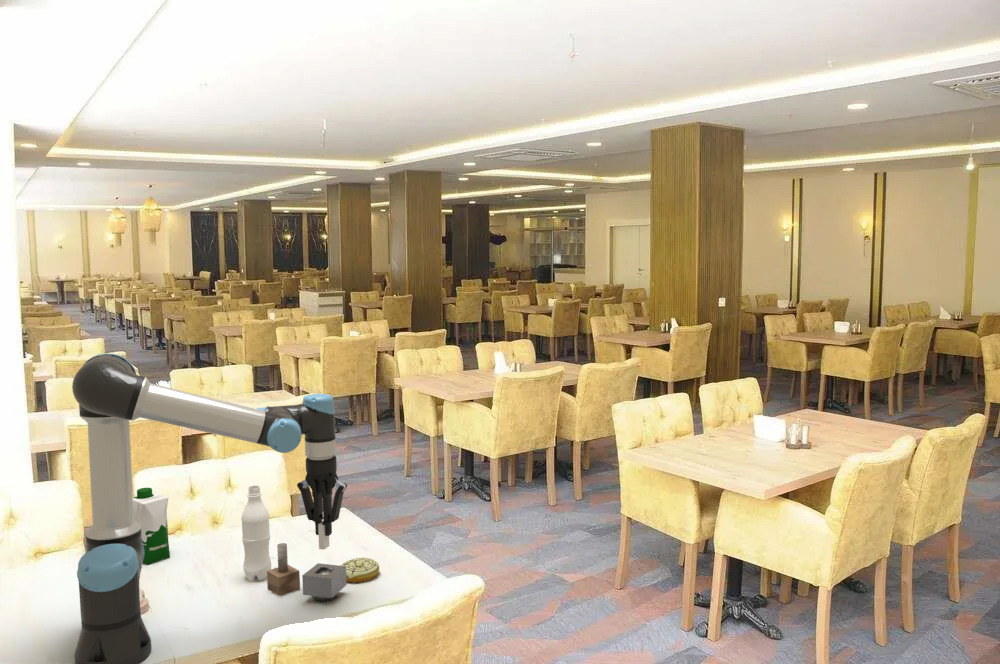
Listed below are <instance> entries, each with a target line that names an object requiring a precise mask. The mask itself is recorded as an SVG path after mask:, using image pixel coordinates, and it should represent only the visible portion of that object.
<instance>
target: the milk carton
mask: <svg viewBox="0 0 1000 664" xmlns="http://www.w3.org/2000/svg"><path fill="white" fill-rule="evenodd" d="M168 502H169V497H168V496H165V495H163V494H161V493H157V492H153V488H151V487H142V488H141V487H140V488H139V489H137V490H136V496H133V515H134V520H135V521H136V522H138V523H139V524H140V525H141V535H142V543H143V546H144V560H143V564H144V565H146V566H149V565H152V564H155V563H157V562H160V561H163V560H166V559H169V558H171V555H170V544H169V528H168V526H169V525H168V512H167V510H168V504H169V503H168Z"/></svg>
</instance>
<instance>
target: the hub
mask: <svg viewBox="0 0 1000 664" xmlns="http://www.w3.org/2000/svg"><path fill="white" fill-rule="evenodd" d="M329 573H330V571H321V572H319V574H326V575H328V574H329ZM338 595H339V594H338V593H337V594H336V595H335V596H334V597H333V598H327V597H319V596H312V597H313V601H315V602H317V603H322V604H323V603H330V602H332V601H334V600H337V598H338Z"/></svg>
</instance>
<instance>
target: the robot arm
mask: <svg viewBox="0 0 1000 664" xmlns="http://www.w3.org/2000/svg"><path fill="white" fill-rule="evenodd" d="M135 369H136V368H135V367H134V366H133V364H132V363H131V362H130V361H129V359H127V358H126V357H123V356H122V355H120V354H116V353H102V354H97V355H94V356H92V357H90V358H89V359H87V360H86V361H85V362H84V363H83V365H82V366H81V367H80V368H79V369H78V371H77V372H76V373H75V375H74V377H73V381H72V386H71V387H72V388H71V389H72V394H73V397H74V399H75V400H76V402H77V403H78V408H79V409H78V410H79V411H78V412H79V417H80V418H81V419H82V420H83V421H85V423H87V436H88V437H87V438H88V454H89V455H88V456H89V457H88V460H89V476H90V477H89V478H90V481H89V482H90V495H91V496H90V497H91V500H90V501H91V519H92V524H91V526H90V527H89V528H88V529H87V530H86V532H85V548H86V552H85V553H83V555H82V556H81V557H80V559H79V561H78V564H77V571H76V572H77V573H76V578H77V582H78V592H79V593H78V594H79V607H80V609H79V610H80V620H81V621H80V622H81V623H80V624H81V630H80V634H79V637H78V641H77V644H76V647H75V651H74V657H73V659H74V664H140V663H141V662H143V661H144V660H146V659H147V658H148V657H149V655H150V654H151V653H152V640H151V639H152V638H151V637H150V634H149V631H148V629H147V627H146V625H145V623H144V621H143V618H142V615H141V614H142V613H141V597H140V595H141V594H140V578H141V572H142V566H143V564H144V563H143V560H144V546H143V543H142V535H141V525H140V524H139V523H138V522H136V521H135V520H134V515H133V497H134V496H133V494H134V493H133V477H132V474H133V473H132V451H131V430H130V429H131V428H130V427H131V425H130V421H133V422H134V421H135V420H137V419H140V418H142V419H146V420H151V421H155V422H160V423H163V424H169V425H172V426H178V427H181V428H187V429H191V430H195V431H199V432H205V433H207V434H208V433H209V434H214V435H217V436H223V437H227V438H231V439H236V440H240V441H243V442H244V441H246V442H248V443H252V444H256V445H260V446H267V447H270V449H272V450H274V451H275V452H277V453H279V454H280V453H282V454H283V453H284V454H287V453H290V452H292V451H294V450H296V448H298V447H299V445H300V444H301V442H302V435H304V454H305V456H306V458H305V472H306V475H305V477H304V480H301V481H300V482H298V483H297V484H296V486H297V488H298V490H299V491H300V493H301V497H302V501H303V505H304V509H305V515H306V517H307V520H309V521H312V522H314V527H315V535H316V536H318V550H327V548H328V547H330V545H331V544H330V536H331V535H332V533H333V527H332V525H333V524H332V523H334V522H336V521H337V520H338V519H339V518H340V513H341V508H342V502H343V496H344V492H345V490H346V489H347V487H348V484H347V483H346V482H345V483H342V482H341V481H340V480H339V475H337V470H338V469H337V468H338V467H337V464H338V463H337V456H336V454H337V444H336V412H335V403H334V402H335V400H334V397H333V396H332V395H331V394H328V393H312V394H307V395H305V396H304V397H303V398H302V399H303V400H302V403H299V404H291V405H277V406H269V405H266V406H263V407H257V408H254V407H250V406H246V405H241V404H237V403H233V402H230V401H224V400H221V399H216V398H212V397H208V396H205V395H204V396H203V395H199V394H197V393H196V394H195V393H192V392H189V391H184V390H179V389H175V388H172V387H167V386H164V385H159V384H155V383H151V382H150V381H149V379H148V377H146V376H142V375H139V374H137V372H136V370H135ZM334 487H335V489H334ZM333 489H334V490H335V493H334V495H333ZM332 495H333V496H334V497H333V496H332ZM332 497H333V498H332ZM332 499H333V501H332Z"/></svg>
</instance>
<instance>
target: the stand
mask: <svg viewBox="0 0 1000 664" xmlns="http://www.w3.org/2000/svg"><path fill="white" fill-rule="evenodd" d="M276 547H277V567H274V568H271V570H268V571H267V577H266V581H267V582H266V583H267V590H268V591H269V592H271V593H272V594H275V595H277V596H278V597H282V596H284V595H287V594H290V593H292V592H296V591H298V590H301V580H300V578H301V577H300V576H301V575H300V570H299V569H298V568H295V567H294V566H291V565H290V564H289V563H288V543H285V542H280V543H278V544H277V545H276Z"/></svg>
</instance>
